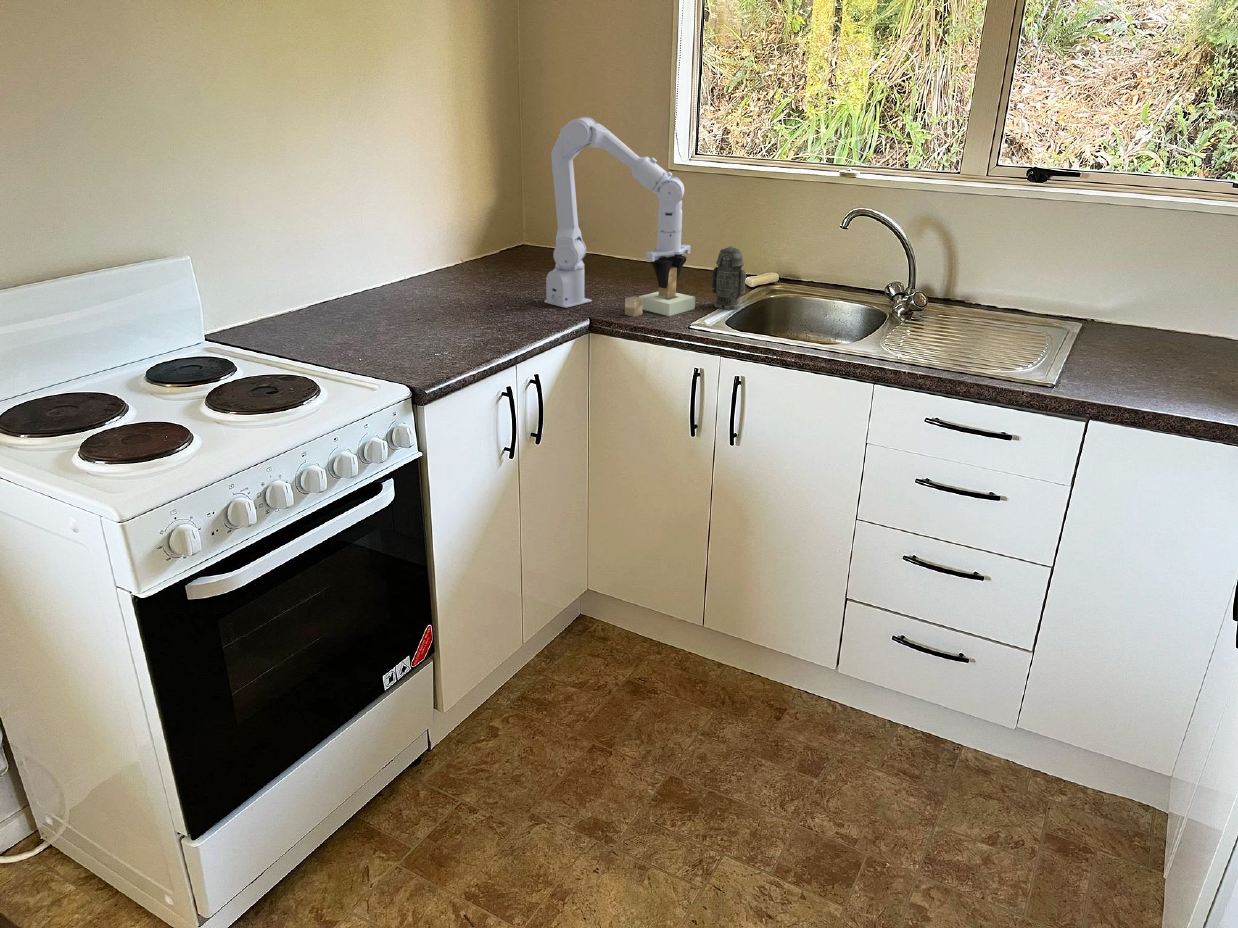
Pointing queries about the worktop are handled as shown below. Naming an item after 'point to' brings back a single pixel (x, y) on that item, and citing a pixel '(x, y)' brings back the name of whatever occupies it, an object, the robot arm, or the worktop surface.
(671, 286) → the long pin
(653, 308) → the socket
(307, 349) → the worktop surface
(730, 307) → the toy
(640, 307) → the short pin
